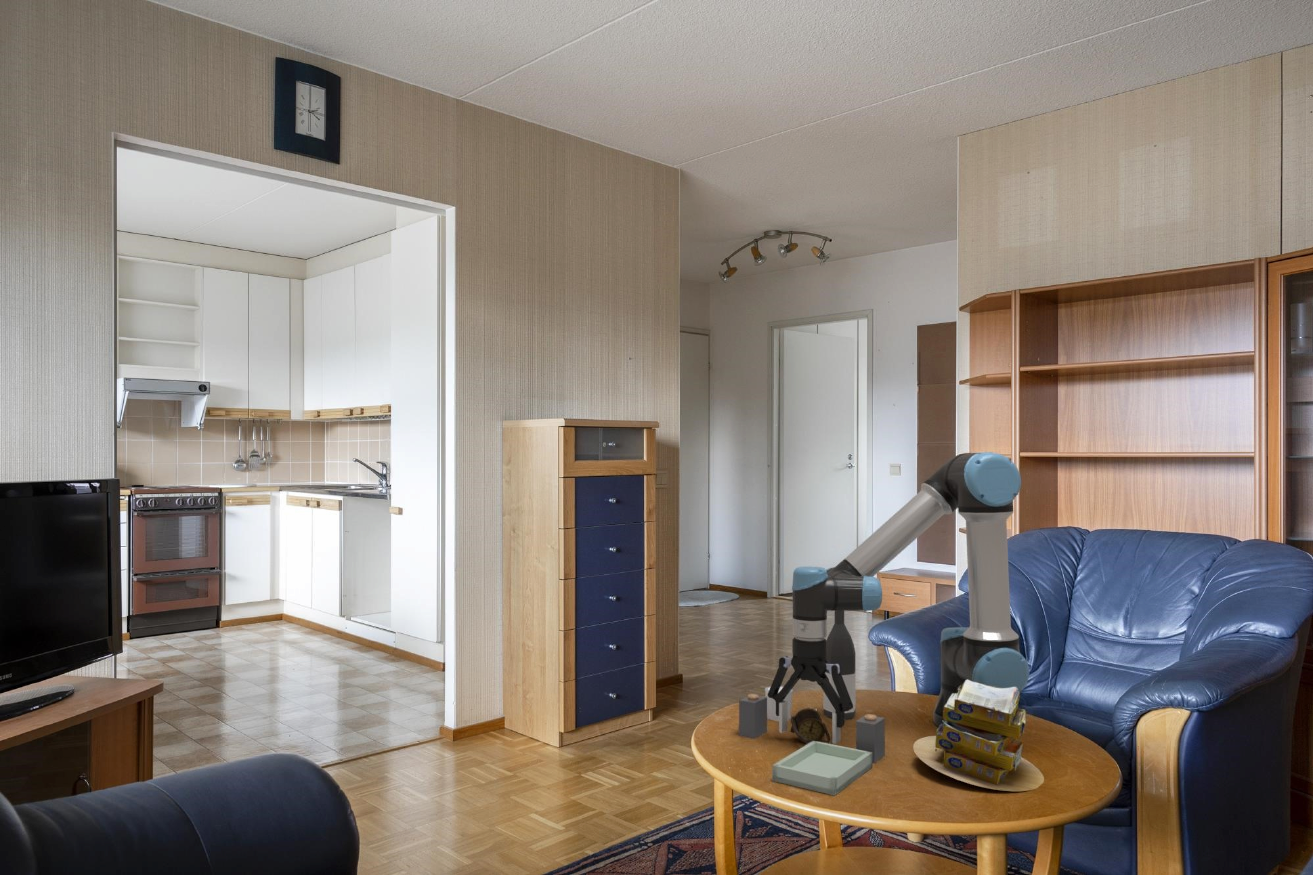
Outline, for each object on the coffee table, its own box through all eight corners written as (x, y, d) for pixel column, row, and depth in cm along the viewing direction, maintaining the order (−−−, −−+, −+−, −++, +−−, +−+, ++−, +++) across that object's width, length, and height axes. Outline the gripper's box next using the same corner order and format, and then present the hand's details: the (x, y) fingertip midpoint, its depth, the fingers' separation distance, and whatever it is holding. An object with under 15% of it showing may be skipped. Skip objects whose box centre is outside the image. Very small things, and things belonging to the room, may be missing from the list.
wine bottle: (816, 715, 216) (816, 592, 217) (833, 708, 222) (833, 589, 223) (845, 721, 211) (845, 596, 212) (862, 714, 217) (862, 592, 218)
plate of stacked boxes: (1062, 770, 178) (1061, 687, 179) (1014, 804, 160) (1014, 711, 161) (946, 743, 195) (946, 667, 196) (891, 771, 177) (891, 687, 178)
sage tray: (872, 767, 179) (872, 752, 179) (834, 795, 163) (834, 779, 164) (813, 754, 186) (813, 740, 187) (772, 780, 171) (772, 765, 171)
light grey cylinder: (795, 722, 210) (795, 692, 211) (766, 721, 210) (766, 692, 211) (791, 713, 217) (791, 685, 217) (763, 713, 217) (763, 685, 218)
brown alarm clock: (839, 715, 198) (796, 701, 201) (834, 725, 186) (788, 710, 189) (832, 746, 198) (789, 732, 201) (826, 759, 185) (780, 743, 188)
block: (884, 755, 186) (884, 714, 187) (874, 763, 181) (874, 720, 182) (866, 752, 189) (866, 710, 189) (856, 759, 184) (856, 717, 184)
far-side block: (766, 732, 202) (767, 693, 203) (754, 738, 197) (754, 699, 198) (751, 729, 205) (751, 691, 205) (739, 735, 200) (739, 696, 200)
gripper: (752, 633, 198) (752, 730, 197) (855, 647, 184) (855, 751, 183) (768, 628, 204) (768, 722, 203) (868, 641, 190) (868, 742, 189)
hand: (809, 736), depth 193 cm, fingers open, 12 cm apart
